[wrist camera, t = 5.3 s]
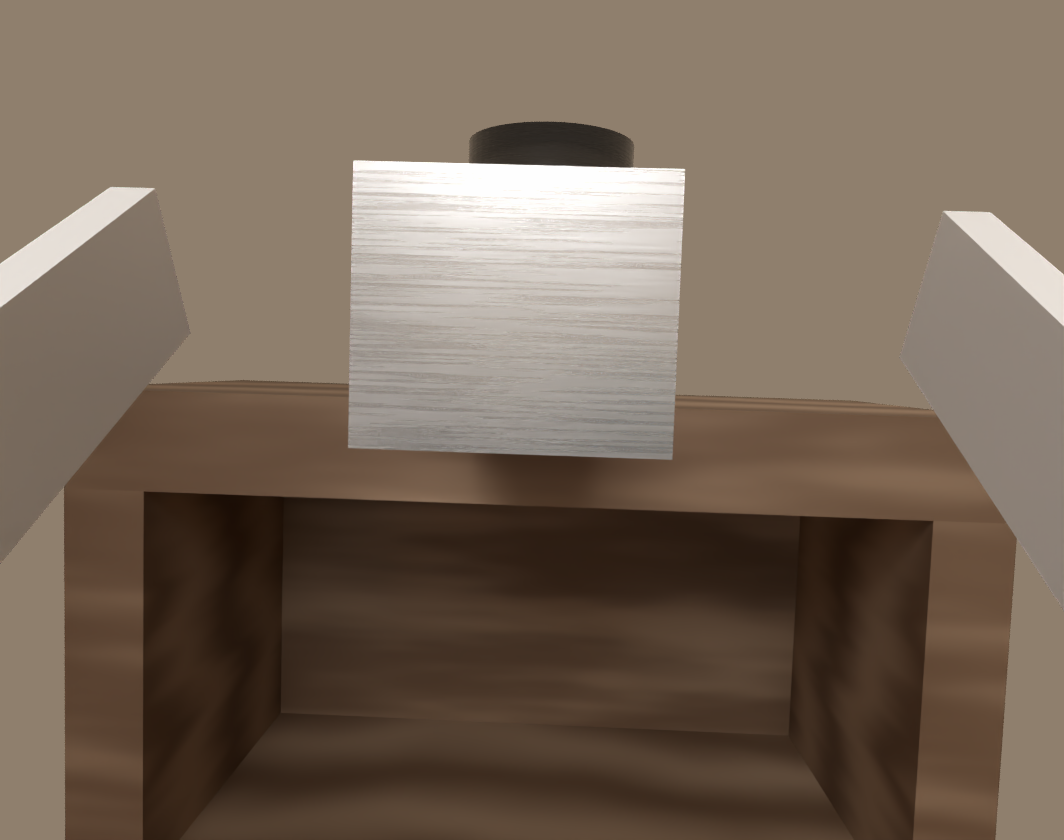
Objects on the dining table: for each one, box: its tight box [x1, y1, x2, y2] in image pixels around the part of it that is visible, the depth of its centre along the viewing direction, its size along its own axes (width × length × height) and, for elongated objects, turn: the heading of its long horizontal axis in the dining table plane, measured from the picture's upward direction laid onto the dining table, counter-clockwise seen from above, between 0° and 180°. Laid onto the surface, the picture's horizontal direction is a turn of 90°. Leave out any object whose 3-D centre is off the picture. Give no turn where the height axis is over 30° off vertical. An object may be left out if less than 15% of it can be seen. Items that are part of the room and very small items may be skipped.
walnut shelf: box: [64, 380, 1017, 840], centre depth 32 cm, size 14×28×30 cm, turn 88°
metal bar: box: [348, 122, 685, 460], centre depth 25 cm, size 30×7×10 cm, turn 178°
